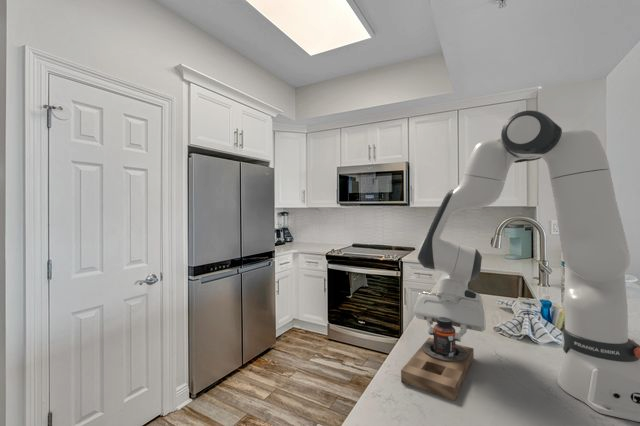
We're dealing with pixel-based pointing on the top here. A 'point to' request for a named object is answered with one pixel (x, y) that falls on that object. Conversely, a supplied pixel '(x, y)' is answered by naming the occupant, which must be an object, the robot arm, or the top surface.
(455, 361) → the bore board
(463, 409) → the top surface
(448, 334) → the supplement bottle
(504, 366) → the top surface
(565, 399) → the top surface
